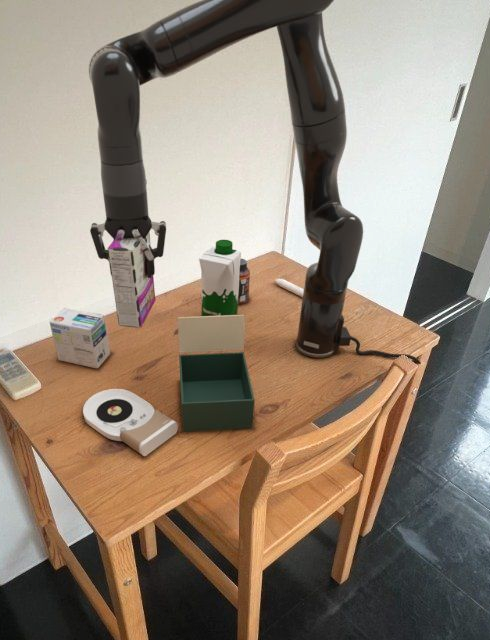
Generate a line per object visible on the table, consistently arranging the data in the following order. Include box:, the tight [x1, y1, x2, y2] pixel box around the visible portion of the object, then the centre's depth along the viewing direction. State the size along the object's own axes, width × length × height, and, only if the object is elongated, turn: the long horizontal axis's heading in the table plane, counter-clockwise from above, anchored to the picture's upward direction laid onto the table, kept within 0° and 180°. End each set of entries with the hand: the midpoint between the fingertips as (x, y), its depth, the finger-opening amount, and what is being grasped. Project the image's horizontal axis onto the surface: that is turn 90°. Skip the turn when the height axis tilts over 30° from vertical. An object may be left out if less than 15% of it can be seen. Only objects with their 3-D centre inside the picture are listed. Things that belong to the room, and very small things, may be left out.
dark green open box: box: [178, 351, 255, 433], centre depth 106 cm, size 14×16×7 cm
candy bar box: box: [106, 232, 156, 329], centre depth 99 cm, size 11×5×16 cm, turn 169°
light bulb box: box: [48, 307, 111, 369], centre depth 117 cm, size 11×7×11 cm, turn 71°
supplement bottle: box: [238, 258, 251, 305], centre depth 137 cm, size 6×6×11 cm
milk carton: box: [198, 239, 242, 316], centre depth 127 cm, size 9×9×20 cm
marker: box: [275, 278, 304, 298], centre depth 142 cm, size 18×2×2 cm, turn 40°
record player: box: [82, 388, 179, 457], centre depth 103 cm, size 12×3×20 cm
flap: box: [177, 314, 246, 354], centre depth 107 cm, size 14×8×1 cm
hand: (133, 276), depth 100 cm, fingers closed on candy bar box, 5 cm apart
